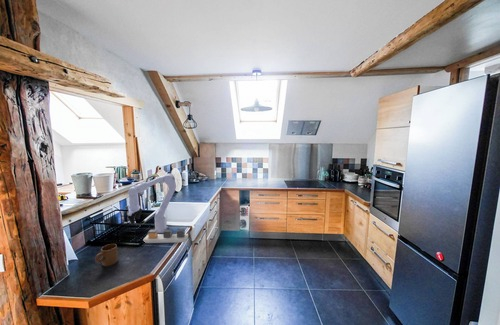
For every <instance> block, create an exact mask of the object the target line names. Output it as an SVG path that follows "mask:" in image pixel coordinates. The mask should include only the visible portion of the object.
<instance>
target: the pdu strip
mask: <svg viewBox="0 0 500 325" xmlns="http://www.w3.org/2000/svg"><path fill="white" fill-rule="evenodd" d="M188 238H189V233H186V229H185V228H178V229H177V230H176V233H173V230H172V228H169V229H168V228H167V229H165V230H164V231H163V233H157V238H156V239H149V237H148V234H147V235H146V236H145V237H144V238H143V239H142V241H144V242H145V243H144V244H159V243H160V244H161V243H164V244H165V243H166V244H167V243H168V244H169V243H187V241H188Z"/></svg>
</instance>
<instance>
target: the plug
mask: <svg viewBox="0 0 500 325" xmlns="http://www.w3.org/2000/svg"><path fill="white" fill-rule="evenodd" d="M157 234H158V233H157V229H155V228H154V229H150V230H148V232H147V235H148V237H149V239H156V238H157Z"/></svg>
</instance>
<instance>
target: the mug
mask: <svg viewBox="0 0 500 325" xmlns="http://www.w3.org/2000/svg"><path fill="white" fill-rule="evenodd" d="M118 254H119V253H118V246H117V244H116V243H109V244H106V245H104V246H102V247H101V249H100V252H99V253H97V254H96V256H95V258H94V261H95V262H96V263H98V264H99V263H101V264H102V266H103V267H112V266H114V265H115V264H117V263H118V261H119V255H118ZM100 257H101V258H100Z"/></svg>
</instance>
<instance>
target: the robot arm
mask: <svg viewBox="0 0 500 325" xmlns="http://www.w3.org/2000/svg"><path fill="white" fill-rule="evenodd" d="M159 183H162V184H164V183H165V184H166V185H167V186H168V190H167V191H166V193H165V196H164V198H163V200H162V202H161V205H160V206H159V208H158V209H157V210H156V211H155V214H154V230H155V229H157V234H163V231H164V230H165V229H168V228H169V226H167V225H168V224H167V223H168V222H167V221H168V220H167V217H165V213H166V210H167V208H168V206H169V204H170V202H171V199H172V197H173V195H174V194H175V192H176V189H177V183H176V178H175V176H174V174H172V173H168V172H167V173H166V174H162V175H160V176H158V177H156V178H154V179H152V180H150V181H148V182H147V181H141V182H140V183H138V184H135V185H133V186H131V187H130V188H129V189H128V190H127V194H128V200H129V209H128V210H127V211H128V212H127V214H126V217H127V218H128V221H129V223H130V224H131V225H134V224H135V222H136V220H140V218H141V213H142V211H143V208H141V205H140V203H139V201H140V200H139V194H140V193H143V192H145V191H146V190H148V189H149V188H150V187H151V186H154V185H157V184H159Z"/></svg>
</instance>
